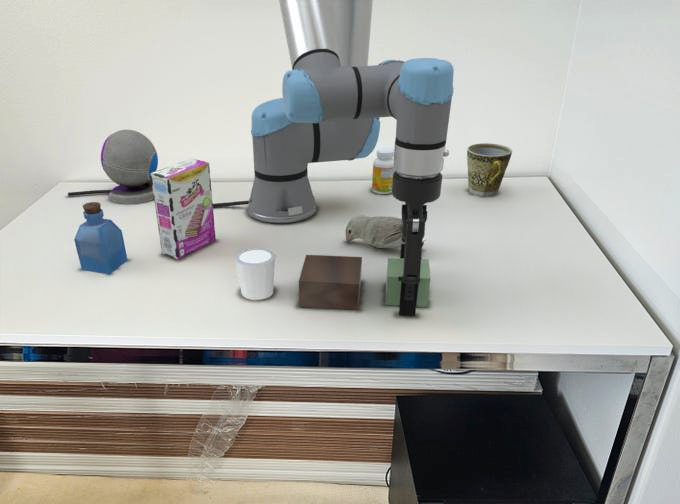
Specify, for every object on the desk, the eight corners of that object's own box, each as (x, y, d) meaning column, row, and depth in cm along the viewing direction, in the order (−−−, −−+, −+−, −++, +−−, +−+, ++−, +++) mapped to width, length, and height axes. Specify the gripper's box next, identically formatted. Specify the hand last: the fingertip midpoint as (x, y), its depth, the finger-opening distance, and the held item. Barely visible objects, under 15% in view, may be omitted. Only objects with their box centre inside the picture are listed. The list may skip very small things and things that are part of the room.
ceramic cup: (456, 185, 151) (461, 144, 145) (495, 183, 152) (502, 142, 146) (473, 205, 141) (480, 161, 135) (516, 202, 141) (524, 159, 136)
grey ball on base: (121, 183, 156) (109, 122, 147) (169, 185, 154) (160, 123, 145) (100, 202, 145) (86, 137, 136) (152, 204, 144) (141, 139, 135)
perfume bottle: (127, 260, 120) (115, 201, 113) (109, 274, 115) (96, 213, 108) (100, 256, 122) (87, 197, 115) (81, 269, 117) (66, 209, 110)
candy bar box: (179, 261, 119) (167, 178, 110) (161, 255, 122) (148, 173, 112) (218, 241, 127) (210, 161, 117) (200, 235, 129) (191, 156, 120)
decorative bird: (351, 236, 127) (352, 202, 123) (426, 251, 121) (430, 215, 117) (340, 247, 123) (341, 211, 119) (418, 262, 118) (422, 225, 113)
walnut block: (299, 307, 104) (298, 281, 101) (306, 279, 112) (305, 254, 110) (358, 310, 103) (359, 283, 100) (361, 281, 111) (362, 256, 108)
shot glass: (271, 303, 106) (269, 266, 101) (233, 300, 107) (229, 263, 103) (280, 284, 111) (279, 248, 107) (244, 281, 112) (241, 246, 108)
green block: (385, 305, 104) (387, 276, 101) (386, 285, 110) (388, 257, 107) (427, 307, 104) (430, 278, 101) (425, 287, 109) (428, 259, 106)
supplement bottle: (370, 187, 151) (371, 147, 145) (391, 186, 151) (394, 146, 146) (373, 195, 147) (376, 154, 141) (396, 194, 147) (399, 153, 141)
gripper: (448, 201, 84) (431, 333, 97) (438, 148, 104) (425, 264, 116) (392, 199, 85) (383, 331, 97) (393, 147, 104) (385, 262, 117)
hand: (406, 295), depth 107 cm, fingers open, 12 cm apart
